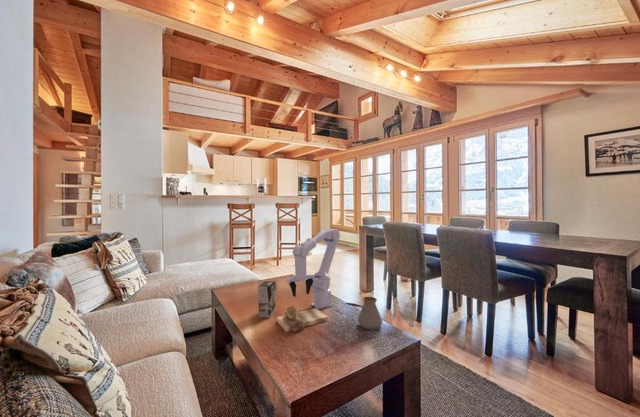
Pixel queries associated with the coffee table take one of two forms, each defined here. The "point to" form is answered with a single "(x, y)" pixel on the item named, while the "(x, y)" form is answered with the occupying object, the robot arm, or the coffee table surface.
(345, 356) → the coffee table surface
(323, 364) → the coffee table surface
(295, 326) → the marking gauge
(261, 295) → the coffee box
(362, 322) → the coffee pot
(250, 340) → the coffee table surface
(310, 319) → the pine board
